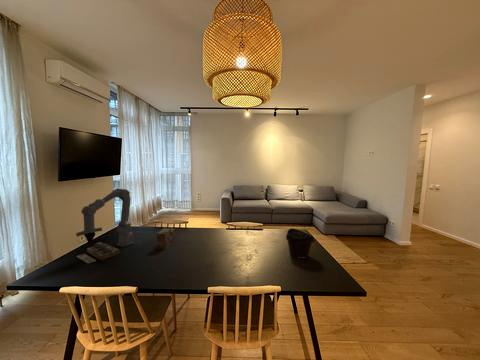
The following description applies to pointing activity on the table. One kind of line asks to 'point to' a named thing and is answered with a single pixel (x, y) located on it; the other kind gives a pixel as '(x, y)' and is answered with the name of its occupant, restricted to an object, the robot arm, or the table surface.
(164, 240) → the stack of blocks
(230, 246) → the table surface
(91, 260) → the pattern card
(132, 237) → the robot arm
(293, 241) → the black bin
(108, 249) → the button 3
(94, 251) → the wooden tray
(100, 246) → the button
